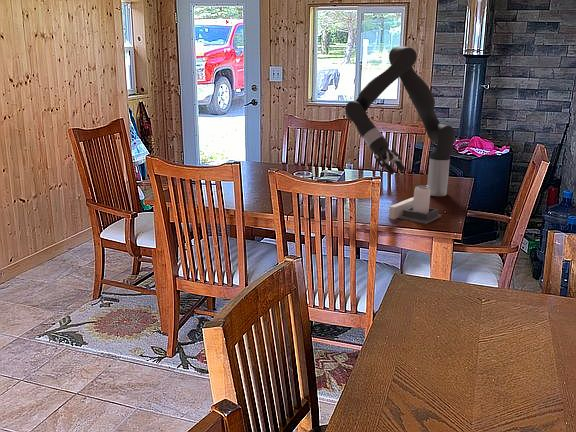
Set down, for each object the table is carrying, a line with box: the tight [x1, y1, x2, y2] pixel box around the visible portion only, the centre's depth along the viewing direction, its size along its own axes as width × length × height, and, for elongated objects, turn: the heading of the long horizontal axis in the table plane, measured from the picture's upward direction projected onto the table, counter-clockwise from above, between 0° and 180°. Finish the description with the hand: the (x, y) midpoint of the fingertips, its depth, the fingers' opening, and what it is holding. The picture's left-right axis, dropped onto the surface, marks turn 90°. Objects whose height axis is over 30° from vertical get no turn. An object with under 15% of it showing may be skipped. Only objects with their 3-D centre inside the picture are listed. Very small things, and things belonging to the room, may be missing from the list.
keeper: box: [398, 206, 442, 225], centre depth 235 cm, size 14×12×3 cm
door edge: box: [388, 196, 414, 220], centre depth 240 cm, size 20×2×5 cm, turn 141°
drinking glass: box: [310, 178, 335, 209], centre depth 244 cm, size 10×10×12 cm
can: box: [413, 184, 431, 214], centre depth 234 cm, size 6×6×12 cm
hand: (398, 171), depth 238 cm, fingers open, 8 cm apart
